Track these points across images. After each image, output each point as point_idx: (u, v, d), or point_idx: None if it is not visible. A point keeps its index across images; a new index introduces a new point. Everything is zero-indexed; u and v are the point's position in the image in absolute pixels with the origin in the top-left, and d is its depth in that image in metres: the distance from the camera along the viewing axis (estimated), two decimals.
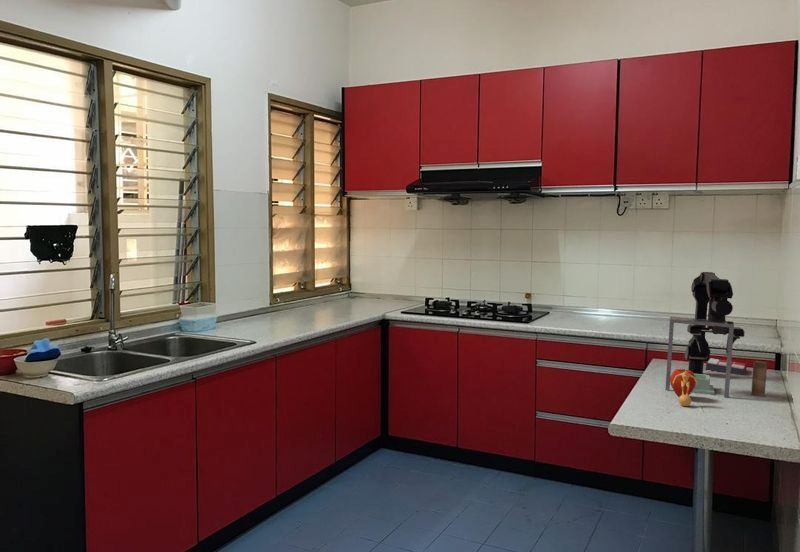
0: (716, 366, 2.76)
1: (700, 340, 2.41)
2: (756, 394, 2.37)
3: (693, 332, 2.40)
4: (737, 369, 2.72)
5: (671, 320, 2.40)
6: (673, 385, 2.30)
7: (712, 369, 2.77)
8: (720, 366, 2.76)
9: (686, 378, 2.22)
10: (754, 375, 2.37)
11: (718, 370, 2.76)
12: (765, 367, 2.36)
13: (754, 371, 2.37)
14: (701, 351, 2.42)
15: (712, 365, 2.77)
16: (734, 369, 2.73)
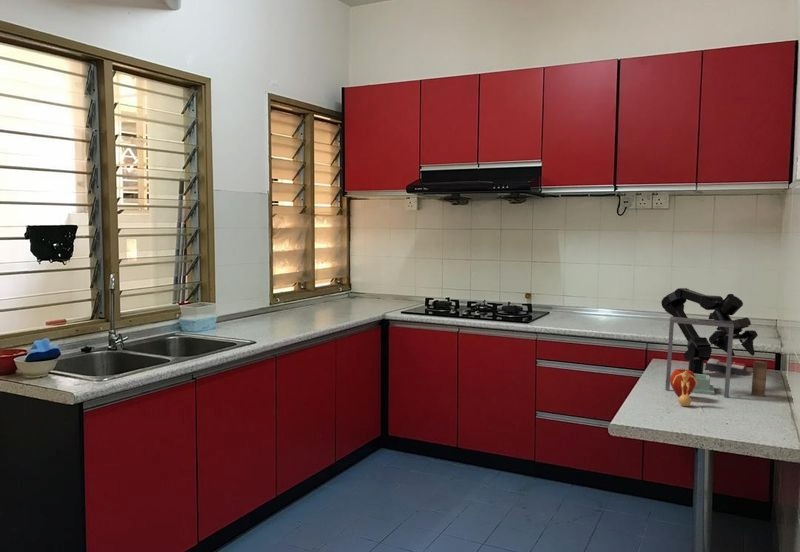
0: (715, 366, 2.76)
1: None
2: (756, 394, 2.37)
3: (720, 334, 2.45)
4: (737, 369, 2.72)
5: (671, 320, 2.40)
6: (673, 385, 2.30)
7: (711, 369, 2.77)
8: (719, 366, 2.75)
9: (686, 378, 2.22)
10: (754, 375, 2.37)
11: (717, 370, 2.76)
12: (765, 367, 2.36)
13: (754, 371, 2.37)
14: (734, 354, 2.44)
15: (711, 365, 2.77)
16: (733, 369, 2.72)
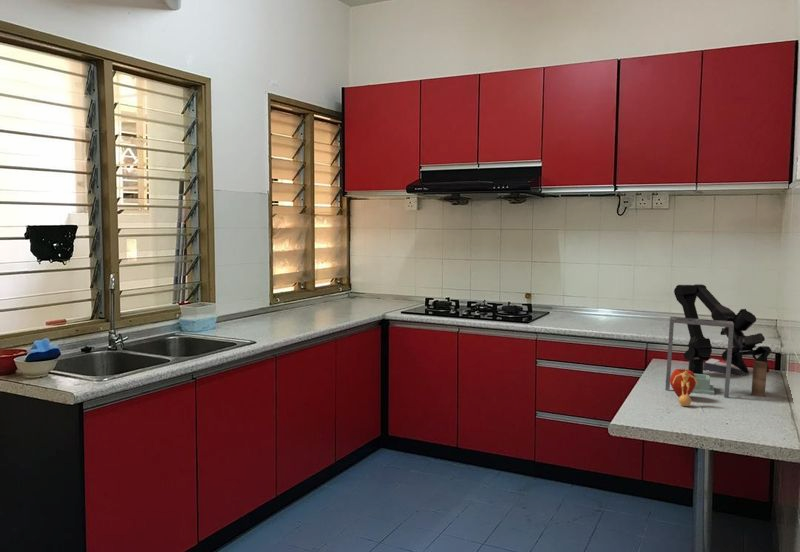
0: (713, 366, 2.76)
1: (742, 360, 2.39)
2: (756, 394, 2.37)
3: (734, 350, 2.39)
4: (734, 369, 2.71)
5: (671, 320, 2.40)
6: (673, 385, 2.30)
7: (710, 369, 2.77)
8: (717, 366, 2.75)
9: (686, 378, 2.22)
10: (754, 375, 2.37)
11: (715, 370, 2.76)
12: (765, 367, 2.36)
13: (754, 371, 2.37)
14: (748, 371, 2.37)
15: (710, 365, 2.77)
16: (731, 369, 2.72)
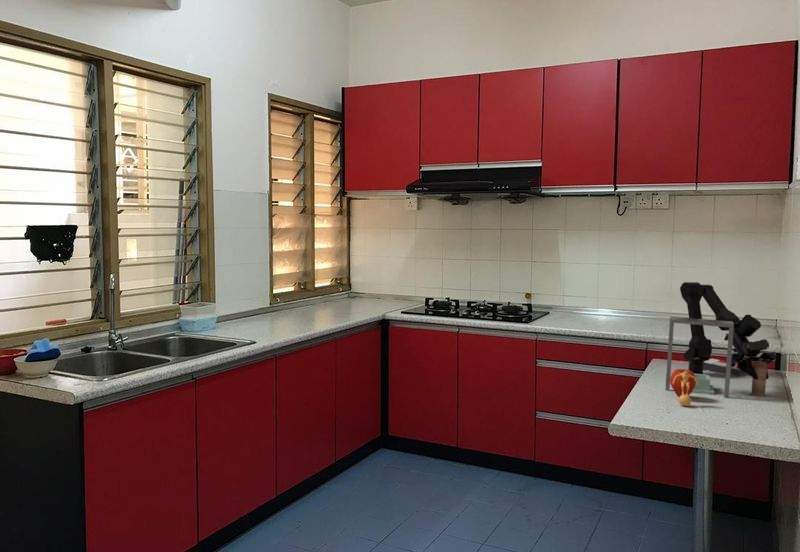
0: (712, 366, 2.77)
1: (751, 366, 2.38)
2: (756, 394, 2.37)
3: (738, 357, 2.37)
4: (732, 369, 2.71)
5: (671, 320, 2.40)
6: (673, 385, 2.30)
7: (708, 369, 2.78)
8: (716, 366, 2.75)
9: (686, 378, 2.22)
10: None
11: (714, 370, 2.76)
12: (765, 367, 2.36)
13: None
14: (757, 377, 2.36)
15: (708, 365, 2.78)
16: None
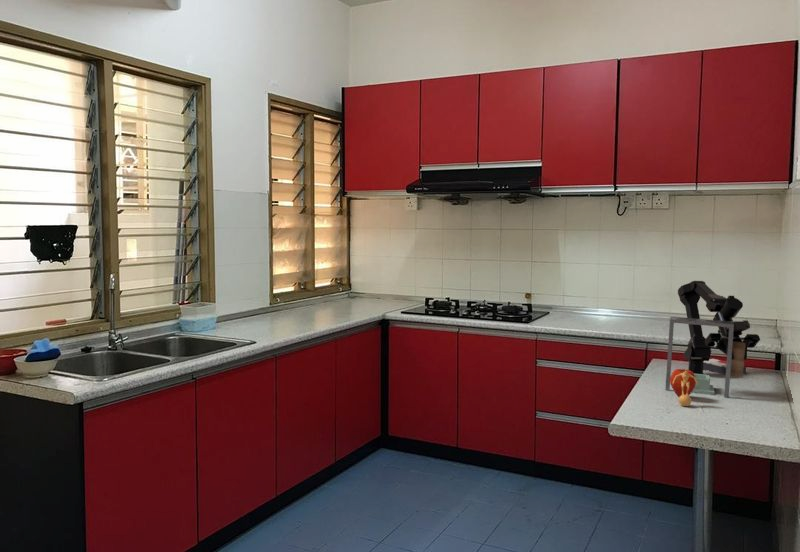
0: (709, 365, 2.77)
1: None
2: (733, 374, 2.38)
3: (714, 336, 2.39)
4: None
5: (671, 320, 2.40)
6: (673, 385, 2.30)
7: (705, 368, 2.78)
8: (712, 366, 2.76)
9: (686, 378, 2.22)
10: None
11: (711, 369, 2.77)
12: (742, 348, 2.36)
13: None
14: (733, 357, 2.37)
15: (705, 364, 2.78)
16: (725, 369, 2.72)
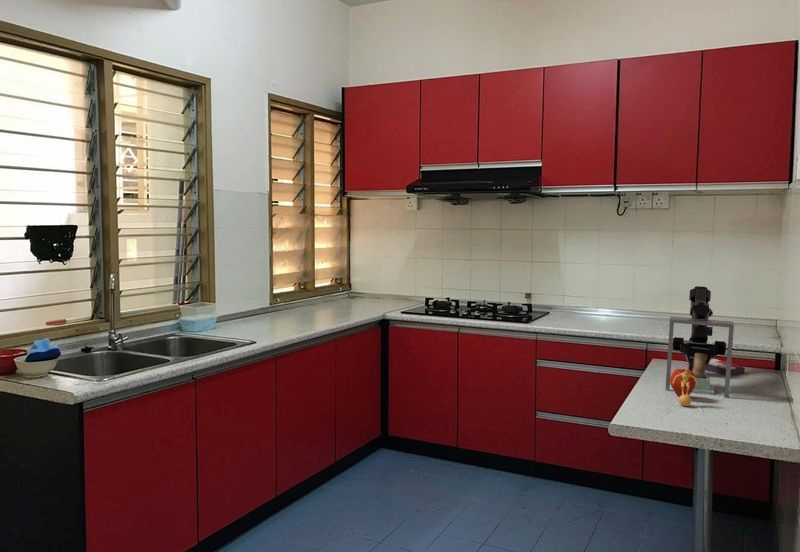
0: (706, 365, 2.78)
1: (687, 350, 2.47)
2: None
3: (676, 340, 2.49)
4: (723, 369, 2.71)
5: (671, 320, 2.40)
6: (673, 385, 2.30)
7: None
8: (709, 365, 2.77)
9: (686, 378, 2.22)
10: (693, 365, 2.45)
11: (707, 369, 2.77)
12: (701, 359, 2.42)
13: None
14: (689, 361, 2.44)
15: None
16: (720, 369, 2.72)
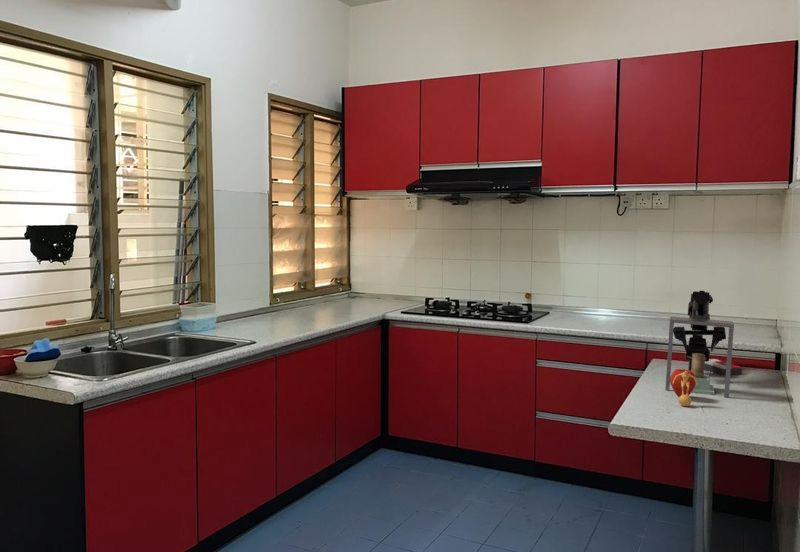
0: None
1: (684, 338, 2.56)
2: None
3: (676, 330, 2.58)
4: (717, 369, 2.72)
5: (671, 320, 2.40)
6: (673, 385, 2.30)
7: None
8: (705, 364, 2.78)
9: (686, 378, 2.22)
10: (691, 366, 2.46)
11: (704, 368, 2.78)
12: (699, 359, 2.42)
13: None
14: (686, 349, 2.54)
15: None
16: (715, 368, 2.73)
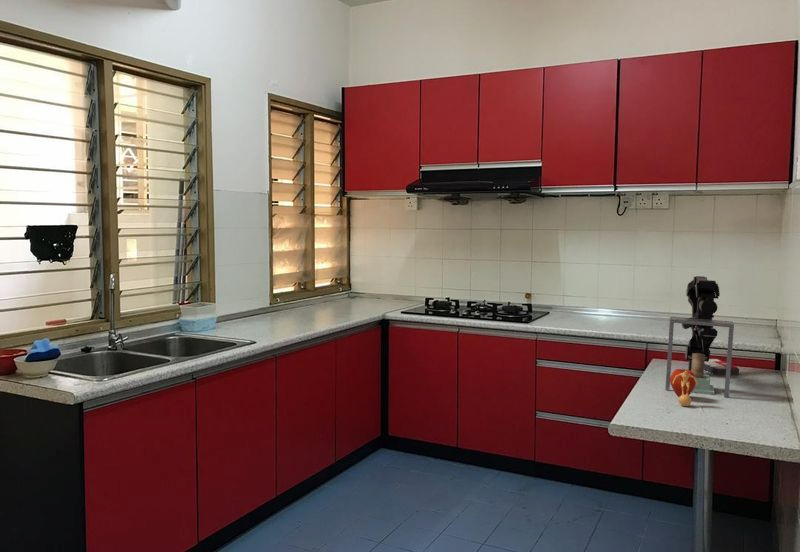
0: None
1: (696, 336, 2.61)
2: None
3: (691, 327, 2.64)
4: (712, 368, 2.72)
5: (671, 320, 2.40)
6: (673, 385, 2.30)
7: None
8: None
9: (686, 378, 2.22)
10: (691, 366, 2.46)
11: None
12: (699, 359, 2.42)
13: None
14: (698, 347, 2.60)
15: None
16: (710, 368, 2.73)
